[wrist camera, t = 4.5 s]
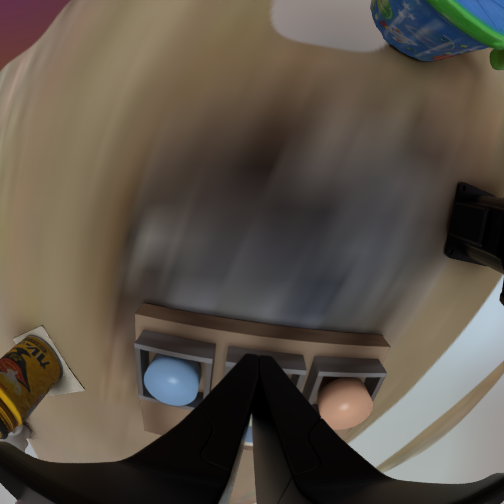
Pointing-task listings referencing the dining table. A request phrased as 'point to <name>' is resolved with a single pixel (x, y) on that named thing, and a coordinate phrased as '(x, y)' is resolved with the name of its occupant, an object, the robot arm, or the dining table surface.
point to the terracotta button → (344, 403)
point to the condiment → (31, 378)
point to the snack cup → (442, 27)
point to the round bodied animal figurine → (19, 437)
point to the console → (255, 342)
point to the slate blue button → (173, 379)
